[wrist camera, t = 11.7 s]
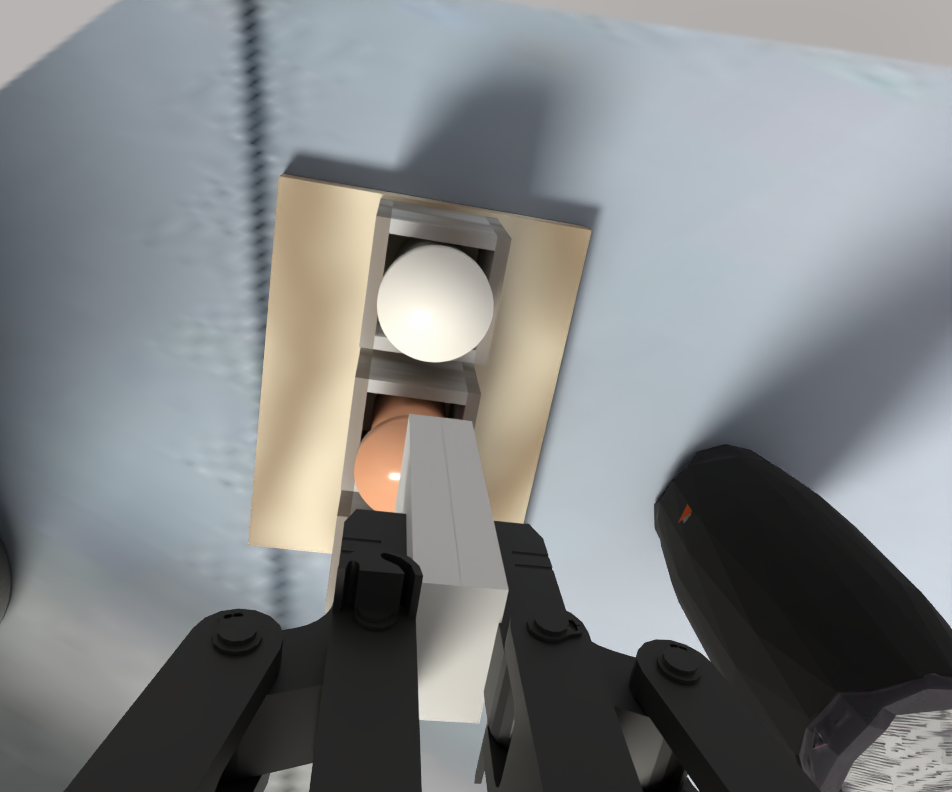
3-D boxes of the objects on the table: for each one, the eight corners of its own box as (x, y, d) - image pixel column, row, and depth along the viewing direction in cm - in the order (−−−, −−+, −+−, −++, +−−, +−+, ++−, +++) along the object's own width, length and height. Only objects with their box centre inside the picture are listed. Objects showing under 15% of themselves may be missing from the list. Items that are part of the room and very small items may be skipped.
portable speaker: (613, 497, 44) (757, 778, 26) (751, 406, 42) (1007, 636, 24) (684, 591, 47) (858, 903, 29) (816, 509, 45) (1087, 783, 27)
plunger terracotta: (357, 445, 38) (347, 514, 32) (369, 360, 36) (361, 415, 30) (446, 456, 39) (454, 526, 32) (462, 373, 37) (473, 430, 31)
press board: (252, 533, 43) (226, 607, 36) (283, 173, 36) (256, 190, 29) (509, 560, 45) (525, 635, 39) (586, 226, 38) (621, 252, 32)
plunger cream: (376, 308, 36) (369, 353, 30) (389, 213, 35) (385, 239, 28) (469, 322, 37) (482, 369, 31) (486, 229, 35) (503, 259, 29)
